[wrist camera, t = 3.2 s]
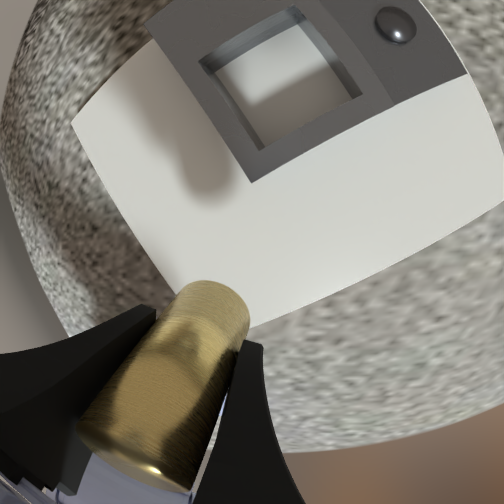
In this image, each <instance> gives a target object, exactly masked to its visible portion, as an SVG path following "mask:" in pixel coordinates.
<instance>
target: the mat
mask: <svg viewBox="0 0 504 504" xmlns="http://www.w3.org/2000/svg"><path fill="white" fill-rule="evenodd" d="M419 2H420V3H421V4H422V5H423V3H422V2H421V1H420V0H419ZM423 6H424V5H423ZM424 8H425V9H426V10H427V8H426V7H425V6H424ZM427 12H428V13H429V14H430V12H429V11H428V10H427ZM430 15H431V14H430ZM431 17H432V18H433V16H432V15H431ZM433 20H434V21H435V22H436V20H435V19H434V18H433ZM436 24H437V25H438V26H439V24H438V23H437V22H436ZM439 28H440V29H441V27H440V26H439ZM441 31H442V32H443V30H442V29H441ZM443 34H444V35H445V33H444V32H443ZM445 37H446V38H447V40H448V41H449V39H448V37H447V36H446V35H445ZM449 43H450V44H451V42H450V41H449ZM451 46H452V47H453V45H452V44H451ZM453 49H454V51H455V52H456V50H455V48H454V47H453ZM456 54H457V56H458V57H459V55H458V53H457V52H456ZM459 59H460V61H461V62H462V60H461V58H460V57H459ZM462 64H463V66H464V68H465V69H466V67H465V65H464V63H463V62H462ZM466 71H467V69H466ZM467 73H468V74H466V75H463V76H461V77H458V78H456V79H453V80H451V81H448V82H446V83H444V84H441V85H439V86H437V87H434V88H432V89H430V90H428V91H425V92H423V93H421V94H419V95H416V96H414V97H412V98H410V99H408V100H405V101H403V102H401V103H399V104H397V105H395V106H394V107H392V108H390V109H388V110H386V111H384V112H382V113H380V114H378V115H376V116H374V117H371V118H369V119H367V120H366V121H364V122H362V123H360V124H358V125H356V126H354V127H352V128H350V129H348V130H346V131H344V132H342V133H340V134H338V135H336V136H335V137H333V138H331V139H329V140H327V141H325V142H323V143H322V144H320V145H318V146H316V147H314V148H312V149H311V150H309V151H307V152H305V153H303V154H302V155H300V156H298V157H296V158H295V159H293V160H291V161H289V162H287V163H286V164H284V165H282V166H281V167H279V168H277V169H275V170H274V171H272V172H270V173H269V174H267V175H265V176H263V177H262V178H260V179H258V180H257V181H255V182H253V183H252V184H251V182H250V181H249V179H248V178H247V176H246V174H245V173H244V171H243V170H242V168H241V167H240V165H239V163H238V162H237V160H236V159H235V157H234V156H233V154H232V153H231V151H230V149H229V148H228V146H227V145H226V143H225V142H224V140H223V139H222V137H221V136H220V134H219V133H218V131H217V130H216V128H215V127H214V125H213V123H212V122H211V120H210V119H209V117H208V116H207V114H206V113H205V111H204V110H203V109H202V107H201V106H200V104H199V103H198V101H197V100H196V98H195V97H194V95H193V94H192V92H191V91H190V89H189V88H188V86H187V85H186V84H185V82H184V81H183V79H182V78H181V76H180V75H179V73H178V72H177V71H176V69H175V68H174V66H173V65H172V63H171V62H170V61H169V59H168V58H167V56H166V55H165V54H164V52H163V51H162V49H161V48H160V47H159V45H158V44H157V42H156V41H155V40H154V38H152V39H151V40H150V41H149V42H148V43H146V44H145V45H144V46H143V47H142V48H141V49H140V50H138V51H137V52H136V53H135V54H134V55H133V56H132V57H131V58H130V59H129V60H127V61H126V62H125V63H124V64H123V65H122V66H121V67H120V68H119V69H118V70H117V71H116V72H115V73H114V74H113V75H112V76H111V77H110V78H109V79H108V80H107V81H106V82H105V83H104V84H103V86H102V87H101V88H100V89H99V90H98V91H97V92H96V93H95V94H94V95H93V97H92V98H91V99H90V100H89V101H88V102H87V103H86V105H85V106H84V107H83V108H82V109H81V111H80V112H79V113H78V114H77V115H76V117H75V118H74V119H73V120H72V122H71V124H72V126H73V128H74V130H75V132H76V134H77V136H78V138H79V140H80V142H81V144H82V146H83V148H84V150H85V152H86V154H87V155H88V157H89V159H90V161H91V163H92V165H93V166H94V168H95V170H96V172H97V174H98V175H99V177H100V179H101V181H102V182H103V184H104V186H105V188H106V189H107V191H108V193H109V194H110V196H111V198H112V199H113V201H114V203H115V204H116V206H117V208H118V209H119V211H120V213H121V214H122V216H123V217H124V219H125V221H126V222H127V224H128V225H129V227H130V228H131V230H132V232H133V233H134V235H135V236H136V238H137V239H138V241H139V242H140V244H141V245H142V247H143V248H144V250H145V251H146V253H147V254H148V256H149V257H150V259H151V260H152V262H153V263H154V265H155V266H156V267H157V269H158V270H159V272H160V273H161V275H162V276H163V277H164V279H165V280H166V282H167V283H168V284H169V286H170V287H171V289H172V290H173V291H174V293H175V294H176V295H177V294H178V293H179V292H180V290H181V289H182V288H183V287H184V286H186V285H187V284H189V283H191V282H194V281H199V280H210V281H215V282H219V283H221V284H224V285H226V286H228V287H229V288H231V289H232V290H234V291H235V292H236V293H237V294H238V295H239V296H240V297H241V298H242V299H243V300H244V302H245V304H246V305H247V307H248V310H249V313H250V327H249V329H250V328H252V327H255V326H257V325H260V324H262V323H265V322H267V321H270V320H272V319H275V318H277V317H280V316H282V315H285V314H287V313H289V312H292V311H294V310H297V309H299V308H301V307H304V306H306V305H308V304H310V303H313V302H315V301H317V300H320V299H322V298H324V297H326V296H329V295H331V294H333V293H335V292H337V291H339V290H342V289H344V288H346V287H348V286H350V285H352V284H354V283H357V282H359V281H361V280H363V279H365V278H367V277H369V276H371V275H373V274H375V273H377V272H379V271H381V270H383V269H385V268H387V267H389V266H391V265H393V264H395V263H397V262H399V261H401V260H403V259H405V258H407V257H408V256H410V255H412V254H414V253H416V252H418V251H420V250H422V249H423V248H425V247H427V246H429V245H431V244H433V243H434V242H436V241H438V240H440V239H441V238H443V237H445V236H447V235H448V234H450V233H452V232H454V231H455V230H457V229H459V228H461V227H462V226H464V225H466V224H467V223H469V222H471V221H472V220H474V219H476V218H477V217H479V216H480V215H482V214H484V213H485V212H487V211H488V210H490V209H492V208H493V207H495V206H496V205H498V204H499V203H501V202H502V201H504V155H503V152H502V149H501V146H500V143H499V140H498V137H497V135H496V132H495V129H494V127H493V124H492V122H491V119H490V117H489V114H488V112H487V109H486V107H485V105H484V103H483V101H482V98H481V96H480V94H479V92H478V90H477V88H476V86H475V84H474V82H473V80H472V78H471V76H470V74H469V72H468V71H467ZM215 74H216V75H217V76H218V78H219V79H220V81H221V82H222V83H223V85H224V86H225V88H226V89H227V91H228V92H229V93H230V95H231V96H232V98H233V99H234V101H235V102H236V103H237V105H238V106H239V108H240V109H241V111H242V112H243V114H244V115H245V117H246V118H247V120H248V121H249V123H250V124H251V126H252V127H253V129H254V130H255V132H256V133H257V135H258V136H259V138H260V140H261V141H262V143H263V144H264V146H265V147H267V146H268V145H270V144H272V143H273V142H275V141H277V140H278V139H280V138H282V137H284V136H285V135H287V134H289V133H290V132H292V131H294V130H296V129H298V128H299V127H301V126H303V125H305V124H306V123H308V122H310V121H312V120H314V119H316V118H317V117H319V116H321V115H323V114H325V113H327V112H329V111H331V110H333V109H334V108H336V107H338V106H340V105H342V104H344V103H346V102H348V101H350V100H352V98H351V96H350V95H349V93H348V92H347V90H346V89H345V87H344V86H343V84H342V83H341V81H340V80H339V78H338V77H337V75H336V74H335V72H334V71H333V70H332V68H331V67H330V65H329V64H328V63H327V61H326V60H325V58H324V57H323V56H322V54H321V53H320V52H319V50H318V49H317V48H316V47H315V45H314V44H313V43H312V41H311V40H310V39H309V38H308V37H307V35H306V34H305V33H304V32H303V30H302V29H301V28H300V27H299V26H298V24H297V25H295V26H293V27H291V28H289V29H287V30H285V31H283V32H281V33H279V34H277V35H276V36H274V37H272V38H270V39H268V40H266V41H265V42H263V43H261V44H259V45H257V46H256V47H254V48H252V49H251V50H249V51H247V52H246V53H244V54H242V55H241V56H239V57H237V58H236V59H234V60H233V61H231V62H230V63H228V64H227V65H225V66H223V67H222V68H220V69H219V70H218V71H216V72H215Z"/></svg>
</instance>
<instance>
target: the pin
mask: <svg viewBox="0 0 504 504" xmlns="http://www.w3.org/2000/svg"><path fill="white" fill-rule="evenodd" d="M249 327H250V313H249V310H248V307H247V305H246V304H245V302H244V300H243V299H242V298H241V297H240V296H239V295H238V294H237V293H236V292H235V291H234V290H232V289H231V288H229V287H228V286H226V285H224V284H221V283H219V282H215V281H210V280H199V281H194V282H191V283H189V284H187V285H186V286H184V287H183V288H182V289H181V290H180V292H179V293H178V294H177V295H176V297H175V298H174V299H173V300H172V301H171V303H170V304H169V305H168V306H167V308H166V309H165V310H164V311H163V312H162V314H161V315H160V316H159V317H158V319H157V320H156V321H155V322H154V324H153V325H152V326H151V327H150V329H149V330H148V331H147V332H146V334H145V335H144V336H143V337H142V339H141V340H140V341H139V342H138V344H137V345H136V346H135V347H134V349H133V350H132V351H131V352H130V354H129V355H128V356H127V358H126V359H125V360H124V361H123V363H122V364H121V365H120V367H119V368H118V369H117V370H116V372H115V373H114V374H113V376H112V377H111V378H110V379H109V381H108V382H107V383H106V385H105V386H104V387H103V389H102V390H101V391H100V393H99V394H98V395H97V397H96V398H95V399H94V401H93V402H92V403H91V405H90V406H89V407H88V409H87V410H86V411H85V413H84V414H83V415H82V417H81V418H80V419H79V421H78V422H77V423H76V425H75V430H76V433H77V435H78V436H79V438H80V439H81V440H82V441H83V443H84V444H85V445H86V446H87V447H88V448H89V449H90V450H91V451H92V452H93V453H95V454H96V455H97V456H98V457H99V458H101V459H102V460H103V461H105V462H106V463H107V464H109V465H110V466H112V467H113V468H115V469H117V470H118V471H120V472H122V473H123V474H125V475H127V476H129V477H131V478H133V479H135V480H137V481H139V482H142V483H144V484H147V485H149V486H152V487H155V488H158V489H161V490H165V491H170V492H177V493H185V492H189V491H191V489H192V487H193V484H194V482H195V479H196V476H197V474H198V470H199V468H200V465H201V463H202V460H203V457H204V454H205V452H206V449H207V447H208V444H209V441H210V439H211V436H212V433H213V430H214V428H215V425H216V422H217V419H218V416H219V414H220V411H221V408H222V405H223V402H224V400H225V397H226V394H227V391H228V388H229V385H230V383H231V379H232V375H233V371H234V367H235V364H236V360H237V357H238V353H239V351H240V348H241V345H242V343H243V340H244V339H246V336H247V333H248V330H249Z"/></svg>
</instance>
